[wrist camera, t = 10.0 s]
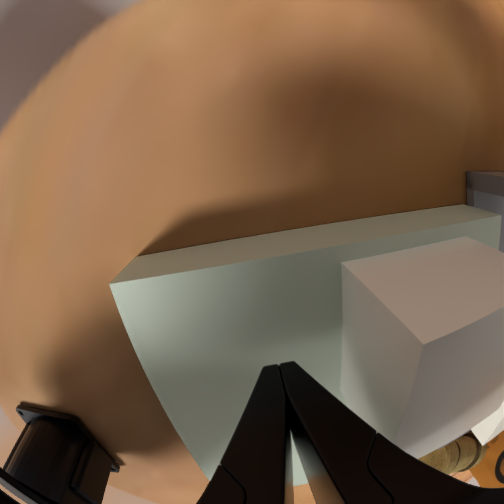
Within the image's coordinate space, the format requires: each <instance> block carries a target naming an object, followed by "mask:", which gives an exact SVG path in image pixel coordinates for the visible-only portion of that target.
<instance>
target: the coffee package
mask: <svg viewBox="0 0 504 504" xmlns="http://www.w3.org/2000/svg"><path fill="white" fill-rule="evenodd" d="M469 470H470V472H471V473H472V475H473V476H474V477H475V479H476V480H477V481H478V483H479V485H480V487H485V488H503V487H504V430H503V431H502V432H500V433H499V434H498V435H497V436H495V437H494V438H493V439H491V440H490V441H489V442H487V451H486V454H485V456H484V458H483V459H482V461H481V462H480V463H479V464H478V465H476V466H475V467H473V468H471V469H469Z"/></svg>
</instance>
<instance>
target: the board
mask: <svg viewBox="0 0 504 504" xmlns="http://www.w3.org/2000/svg"><path fill="white" fill-rule="evenodd" d="M500 231H501V215H499V214H496V213H493V212H489V211H486V210H483V209H479V208H475V207H472V206H468V205H464V204H461V205H453V206H446V207H438V208H431V209H424V210H417V211H410V212H403V213H396V214H389V215H382V216H376V217H369V218H362V219H356V220H349V221H343V222H336V223H330V224H323V225H317V226H311V227H305V228H298V229H292V230H286V231H280V232H274V233H268V234H262V235H256V236H250V237H244V238H238V239H232V240H227V241H221V242H215V243H209V244H204V245H198V246H192V247H187V248H181V249H176V250H170V251H165V252H159V253H154V254H148V255H143V256H138V257H135V258H134V259H133V260H132V261H131V262H130V263H129V264H128V265H127V266H126V267H125V268H124V269H123V270H122V271H121V272H120V273H119V274H118V275H117V276H116V277H115V278H114V280H113V281H112V282H111V283H110V284H109V285H110V288H111V291H112V294H113V297H114V299H115V302H116V305H117V308H118V310H119V313H120V316H121V318H122V321H123V323H124V326H125V328H126V331H127V333H128V336H129V338H130V340H131V343H132V345H133V347H134V350H135V352H136V354H137V356H138V359H139V361H140V363H141V365H142V367H143V369H144V372H145V374H146V376H147V378H148V380H149V382H150V384H151V386H152V388H153V390H154V392H155V394H156V396H157V397H158V399H159V401H160V403H161V405H162V407H163V409H164V410H165V412H166V414H167V416H168V418H169V419H170V421H171V423H172V424H173V426H174V428H175V430H176V431H177V433H178V435H179V436H180V438H181V439H182V441H183V443H184V444H185V446H186V447H187V449H188V450H189V452H190V454H191V455H192V457H193V458H194V460H195V461H196V462H197V464H198V465H199V467H200V468H201V470H202V471H203V473H204V474H205V475H206V477H207V478H208V480H209V481H210V480H211V478H212V476H213V474H214V472H215V470H216V468H217V466H218V465H220V461H221V459H222V456H223V454H224V452H225V450H226V448H227V446H228V444H229V442H230V440H231V438H232V435H233V433H234V431H235V429H236V427H237V425H238V422H239V420H240V418H241V416H242V414H243V411H244V409H245V407H246V405H247V402H248V400H249V398H250V395H251V393H252V391H253V388H254V386H255V384H256V381H257V379H258V377H259V374H260V372H261V370H262V368H263V367H264V366H267V365H273V364H278V365H279V364H280V363H283V362H289V361H295V362H296V363H297V364H298V365H299V366H301V367H302V368H303V369H304V370H305V371H306V372H307V373H308V374H310V375H311V376H312V377H313V378H314V379H315V380H316V381H318V382H319V383H320V384H321V385H322V386H323V387H325V388H326V389H327V390H328V391H329V392H330V393H332V394H333V395H334V396H335V397H336V398H337V399H339V400H340V401H341V402H342V403H343V404H345V405H346V406H347V407H348V405H347V403H346V401H345V399H344V396H343V394H342V392H341V390H340V386H341V366H342V273H341V262H346V261H351V260H356V259H361V258H366V257H371V256H376V255H381V254H386V253H391V252H396V251H400V250H405V249H410V248H414V247H419V246H424V245H428V244H433V243H437V242H442V241H446V240H450V239H455V238H459V237H463V236H466V237H469V238H471V239H473V240H476V241H478V242H481V243H483V244H485V245H488V246H490V247H492V248H494V249H497V250H499V242H500ZM290 431H291V430H290ZM291 440H292V460H293V486H298V485H303V484H308V480H307V477H306V475H305V472H304V469H303V467H302V464H301V461H300V458H299V456H298V453H297V450H296V447H295V444H294V441H293V438H292V435H291Z"/></svg>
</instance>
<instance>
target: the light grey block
mask: <svg viewBox="0 0 504 504" xmlns="http://www.w3.org/2000/svg"><path fill="white" fill-rule="evenodd" d="M341 273H342V366H341V386H340V390H341V392H342V394H343V396H344V399H345V401H346V403H347V405H348V408H349V409H351V410H352V411H353V412H354V413H355V414H357V415H358V416H359V417H360V418H361V419H363V420H364V421H365V422H366V423H368V424H369V425H370V426H371V427H373V428H374V429H375V430H376V431H377V432H376V433H378V432H379V433H380V434H382V435H383V436H384V437H385V438H387V439H388V440H389V441H391V442H392V443H393V444H395V445H396V446H398V447H399V448H401V449H402V450H403V451H405V452H406V453H408V454H410V455H411V456H413V457H415V458H417V459H418V458H421V457H423V456H425V455H427V454H428V453H430V452H432V451H434V450H436V449H438V448H440V447H442V446H443V445H445V444H447V443H449V442H450V441H452V440H454V439H455V438H457V437H459V436H460V435H462V434H463V433H465V432H467V431H468V430H470V429H471V428H473V427H474V426H476V425H477V424H479V423H480V422H481V421H483V420H484V419H486V418H487V417H488V416H490V415H491V414H493V413H494V412H495V411H496V410H498V409H499V408H500V406H501V404H502V403H503V401H504V253H503V252H501V251H499V250H497V249H494V248H492V247H490V246H488V245H485V244H483V243H481V242H478V241H476V240H473V239H471V238H469V237H466V236H463V237H459V238H455V239H450V240H446V241H442V242H437V243H433V244H428V245H424V246H419V247H414V248H410V249H405V250H400V251H396V252H391V253H386V254H381V255H376V256H371V257H366V258H361V259H356V260H351V261H346V262H341Z"/></svg>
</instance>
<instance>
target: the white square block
mask: <svg viewBox="0 0 504 504" xmlns="http://www.w3.org/2000/svg"><path fill="white" fill-rule="evenodd" d="M503 430H504V401H503V403H502V404H501V406H500V408H499V409H498V410H496V411H495V412H494V413H493V414H491V415H490V416H488V417H487V418H486V419H484V420H483V421H481V422H480V423H479V424H477V425H476V426H474V427H473V428H471V431H472V432H473V433H474V435H475V436H476V437H477V439H478V440H479V442H480V443H481V444H482V446H483V445H485V444H486V443H487V442H489V441H490V440H491V439H493V438H494V437H495V436H497V435H498V434H499V433H500V432H502V431H503Z"/></svg>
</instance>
